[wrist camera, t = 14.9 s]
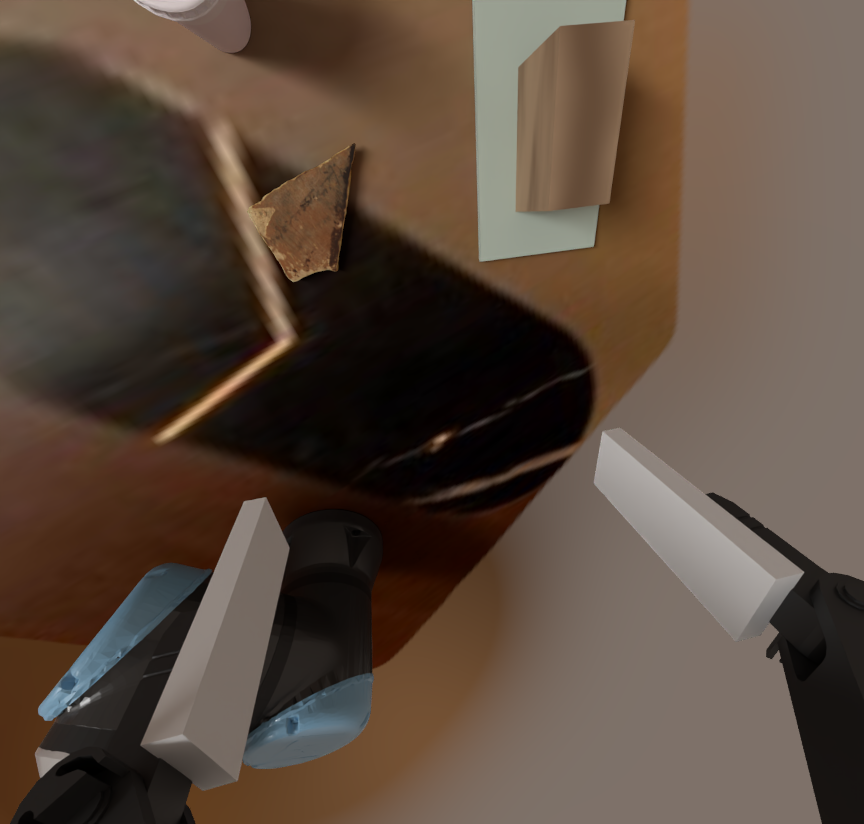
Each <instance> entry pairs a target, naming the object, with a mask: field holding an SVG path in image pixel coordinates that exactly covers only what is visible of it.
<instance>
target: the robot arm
mask: <svg viewBox="0 0 864 824" xmlns="http://www.w3.org/2000/svg"><path fill="white" fill-rule="evenodd" d="M594 484H595V485H596V487H597V488H598V489H599V490H600V491H601V492H602V493H603V494H604V496H606V498H607V499H608V500H609V501H610V502H611V503H612V504H613V506H614V507H615V508H616V509H617V510H618V511H619V512H620V513H621V514H622V516H623V517H624V518H625V519H626V520H627V521H628V522H629V523H630V524H631V525H632V527H633V528H634V529H635V530H636V531H637V532H638V533H639V535H640V536H641V537H642V538H643V539H644V540H645V541H646V542H647V543H648V544H649V546H650V547H651V548H652V549H653V550H654V551H655V552H656V553H657V554H658V556H659V557H660V558H661V559H662V560H663V561H664V562H665V563H666V565H667V566H668V567H669V568H670V569H671V570H672V571H673V572H674V574H675V575H676V576H677V577H678V578H679V579H680V580H681V581H682V582H683V584H684V585H685V586H686V587H687V588H688V589H689V590H690V591H691V592H692V593H693V595H694V596H695V597H696V598H697V599H698V600H699V601H700V602H701V603H702V605H703V606H704V607H705V608H706V609H707V610H708V611H709V612H710V614H711V615H712V616H713V617H714V618H715V619H716V620H717V621H718V622H719V624H720V625H721V626H722V627H723V628H724V629H725V630H726V631H727V632H728V634H729V635H730V636H731V637H732V638H733V639H734V640H735V641H736V642H738V641H741V640H745V639H749V638H752V637H756V636H759V635H761V634H762V632H763V631H764V630H765V628H766V626H767V625H768V623H769V622H770V623H771V624H772V625H773V626H774V627H775V628H776V629H777V630H778V631H779V633H778V635H777V636H776V638H775V639H774V640H773V642H772V643H771V644H770V646H769V647H768V648H767V651H766V657H767V658H770V659H772V658H773V657H774V655H775V654H776V653H777V651H778V650H779V652H780V656H781V659H780V663H782V664H783V668H784V672H785V676H786V680H787V684H788V688H789V692H790V696H791V700H792V704H793V708H794V712H795V716H796V720H797V725H798V729H799V732H800V737H801V741H802V745H803V749H804V753H805V757H806V761H807V765H808V769H809V773H810V777H811V781H812V785H813V789H814V793H815V797H816V801H817V805H818V809H819V813H820V817H821V821H822V824H864V581H862V580H859V579H856V578H854V577H851V576H848V575H843V574H838V573H828V572H826V571H825V570H823V569H822V568H820V567H819V566H818V565H816V564H815V563H814V562H812V561H811V560H810V559H808V558H807V557H805V556H804V555H803V554H801V553H800V552H799V551H798V550H796V549H795V548H793V547H792V546H791V545H790V544H788V543H787V542H785V541H784V540H783V539H781V538H780V537H779V536H777V535H776V534H775V533H773V532H772V531H771V530H769V529H768V528H765V527H764V526H763V524H761V523H760V522H759V521H757V520H756V519H755V518H753V517H752V518H751V517H750V515H749V514H748V513H747V512H745V511H744V510H743V509H741V508H740V507H739V506H737V505H736V504H735V503H733V502H731V501H729V500H727V499H725V498H723V497H721V496H719V495H716V494H715V493H709V494H704V493H702V491H700V490H699V489H698V488H696V487H695V486H694V485H693V484H691V483H690V482H689V481H688V480H686V479H685V478H684V477H682V476H681V475H680V474H679V473H677V472H676V471H675V470H673V469H672V468H671V467H669V466H668V465H667V464H666V463H665V462H663V461H662V460H661V459H659V458H658V457H657V456H656V455H654V454H653V453H652V452H651V451H649V450H648V449H647V448H645V447H644V446H643V445H641V444H640V443H639V442H638V441H636V440H635V439H634V438H633V437H631V436H630V435H629V434H628V433H626V432H625V431H624V430H622V429H621V428H616V429H611V430H606V431H603V432H602V438H601V444H600V449H599V455H598V461H597V467H596V472H595V478H594ZM382 557H383V540H382V535H381V533H380V531H379V529H378V527H377V526H376V525H375V524H374V523H373V522H372V521H370V520H369V519H368V518H366V517H364V516H362V515H360V514H357V513H354V512H350V511H345V510H321V511H316V512H312V513H309V514H306V515H304V516H301V517H299V518H298V519H296V520H294V521H293V522H292V523H290V524H289V525H288V526H287V527H286V528H285V529H284V531H283V532H282V531H281V528H280V526H279V524H278V522H277V520H276V518H275V515H274V513H273V511H272V509H271V507H270V505H269V503H268V500H267V498H266V497H265V498H260V499H254V500H249V501H244V503H243V505H242V508H241V510H240V512H239V515H238V517H237V519H236V522H235V524H234V526H233V529H232V531H231V533H230V536H229V538H228V540H227V543H226V545H225V547H224V550H223V552H222V554H221V557H220V559H219V562H218V564H217V566H216V569H215V571H214V573H213V572H212V570H211V569H206V570H202V569H197V568H193V567H189V566H185V565H181V564H177V563H166V564H162V565H159V566H157V567H155V568H153V569H152V570H150V571H149V572H148V573H147V574H146V575H145V576H144V577H143V578H142V580H141V581H140V582H139V583H138V584H137V586H136V587H135V588H134V589H133V591H132V592H131V593H130V594H129V596H128V597H127V598H126V599H125V601H124V602H123V603H122V604H121V605H120V607H119V608H118V609H117V610H116V612H115V613H114V614H113V615H112V617H111V618H110V619H109V620H108V622H107V623H106V624H105V625H104V627H103V628H102V629H101V630H100V631H99V633H98V634H97V635H96V636H95V638H94V639H93V640H92V641H91V643H90V644H89V645H88V646H87V648H86V649H85V650H84V651H83V653H82V654H81V655H80V656H79V658H78V659H77V660H76V661H75V663H74V664H73V665H72V666H71V668H70V669H69V670H68V671H67V673H66V674H65V675H64V676H63V677H62V679H61V680H60V682H58V684H57V685H56V686H55V687H54V689H53V690H52V691H51V692H50V694H49V695H48V696H47V697H46V699H45V700H44V701H43V702H42V704H41V705H40V707H39V709H38V712H39V715H41V716H43V717H44V720H45V721H49V720H50V721H52V720H53V718H55V717H57V719H56V720H55V722H54V724H53V726H52V727H51V729H50V730H49V732H48V734H47V735H46V737H45V738H44V740H43V742H42V743H41V745H40V746H39V748H38V749H37V751H36V753H35V755H36V761H37V765H38V770H39V774H40V780H38V781H37V782H36V784H35V785H34V787H33V788H32V789H31V790H30V792H29V793H28V794H27V796H26V797H25V798H24V799H23V801H22V802H21V803H20V805H19V807H18V809H17V811H16V813H15V815H14V817H13V819H12V821H11V823H10V824H195V821H194V818H193V816H192V813H191V810H190V809H189V807H188V806H187V805H186V801H187V797H188V794H189V791H190V787H191V784H192V783H193V784H194V785H196V786H197V787H199V788H200V789H201V790H203V791H204V790H207V789H211V788H214V787H218V786H222V785H225V784H229V783H232V782H236V781H238V777H239V772H240V768H241V763H242V761H243V763H244V764H245V765H247V766H249V765H251V766H252V767H253V768H258V769H271V768H279V767H286V766H290V765H295V764H299V763H303V762H307V761H310V760H313V759H316V758H319V757H322V756H324V755H327V754H329V753H331V752H334V751H335V750H338V749H339V748H341V747H343V746H345V745H346V744H348V743H350V742H351V741H352V740H354V739H355V738H356V737H357V736H358V735H359V734H360V733H361V732H362V731H363V729H364V728H365V726H366V725H367V723H368V720H369V717H370V712H371V697H372V683H373V679H374V677H373V674H372V612H371V592H372V588H373V585H374V582H375V579H376V576H377V573H378V570H379V567H380V564H381V561H382Z"/></svg>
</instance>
